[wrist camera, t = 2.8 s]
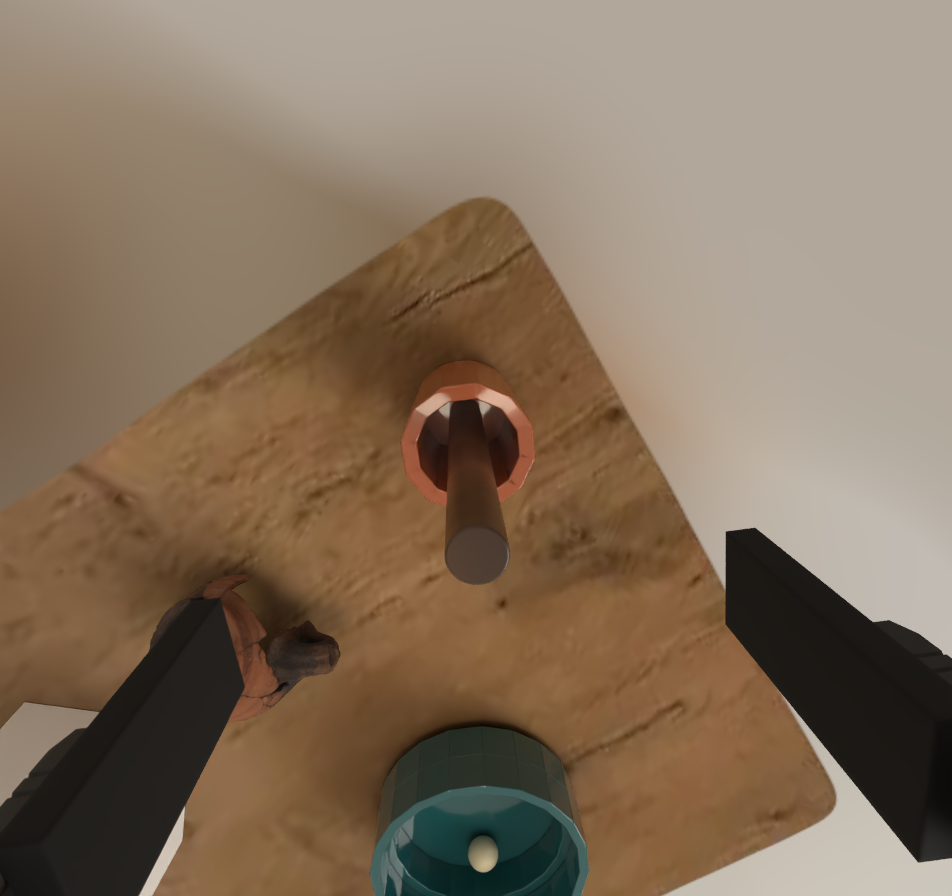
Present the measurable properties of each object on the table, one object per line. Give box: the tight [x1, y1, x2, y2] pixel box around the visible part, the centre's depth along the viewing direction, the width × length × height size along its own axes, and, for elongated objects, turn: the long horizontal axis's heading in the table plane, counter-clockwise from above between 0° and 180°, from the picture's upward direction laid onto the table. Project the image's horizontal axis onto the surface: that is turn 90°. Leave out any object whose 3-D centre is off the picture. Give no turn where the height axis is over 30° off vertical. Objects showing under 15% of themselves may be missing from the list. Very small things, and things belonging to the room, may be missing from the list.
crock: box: [401, 360, 535, 507], centre depth 33 cm, size 7×7×9 cm
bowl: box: [370, 726, 589, 896], centre depth 43 cm, size 15×15×6 cm
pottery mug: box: [149, 574, 340, 722], centre depth 38 cm, size 12×10×8 cm
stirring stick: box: [445, 399, 510, 585], centre depth 27 cm, size 2×2×20 cm
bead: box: [468, 835, 498, 872], centre depth 45 cm, size 2×2×2 cm
